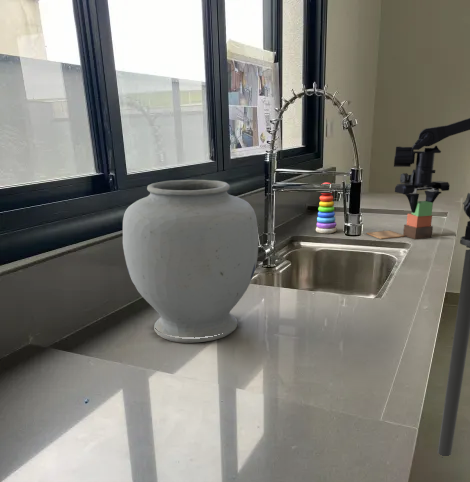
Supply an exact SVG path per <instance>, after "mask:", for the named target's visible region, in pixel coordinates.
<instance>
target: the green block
mask: <svg viewBox="0 0 470 482" xmlns="http://www.w3.org/2000/svg"><path fill="white" fill-rule="evenodd" d="M433 205H434V202H433V203H432V202H428V201H426V200H418V202H417V206H416V210H415V213H412V212H411V213H412V214H413V215H415V216H432V217H433Z"/></svg>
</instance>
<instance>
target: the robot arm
mask: <svg viewBox="0 0 470 482" xmlns="http://www.w3.org/2000/svg"><path fill="white" fill-rule="evenodd" d="M467 131H470V117H468V118H465V119H462V120H458V121H455V122H452V123H450V124H445V125H439V126H432V127H426V128H424V129H422V130H421V131H420V132H419V133H418V137H417V138H418V139H417V140H416V142H414V143H413V144H412V146H396V147H395V152H394V153H395V154H394V162H393V168H410V167H411V165H413V164H415V168H414V169H413V170H412V173H411V174H408V173H407V172H406V173H405V172H404V173H401V174H400V176H399V182H400V183H397V184H396V185H395V187H394V193H396V194H402V195H405V196H406V198H407V200H408V203H409V206H410V210H411V213H415V210H416V206H417V202H418V201H419V197H420V193H418V191H424V194H425V201H428V202H432V203H433V204H434V202H435V201H436V199H437V198H438V196H439V195H440V194H442V192H446V191H447V192H448V191H450V187H451V186H450V183H449V182H448V181H444V180H443V181H442V180H434V181H433V174H436V169H434V164H435V155H436V154H441V152H442V151H441V150H440V148H439V147H438V145H435V144H437V143H439V142H441V141H443V140H445V139H447V138H449V137H451V136H454V135H455V136H456V135H458V134H461V133H465V132H467ZM433 145H434V147H432V146H433ZM421 149H423V150H421ZM415 158H416V161H415ZM462 204H463V211H464V214H465V215H466V216H467V217H468V218H469V219H468V221H467V222H466V226H465V232H464V236H461V237H462V238H465V239H468V240H470V192H467V195H466V198H465V200H464V201H463V202H462Z"/></svg>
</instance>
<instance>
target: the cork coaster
mask: <svg viewBox="0 0 470 482" xmlns="http://www.w3.org/2000/svg"><path fill="white" fill-rule="evenodd" d="M366 235H369V236H371V237H374V238H376V239H379V240H385V239H386V240H387V239H397V238H404V237H405V238H406V236H405V235H403V234H402V233H399V232H396V231H393V230H381V231H372V232H366Z"/></svg>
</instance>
